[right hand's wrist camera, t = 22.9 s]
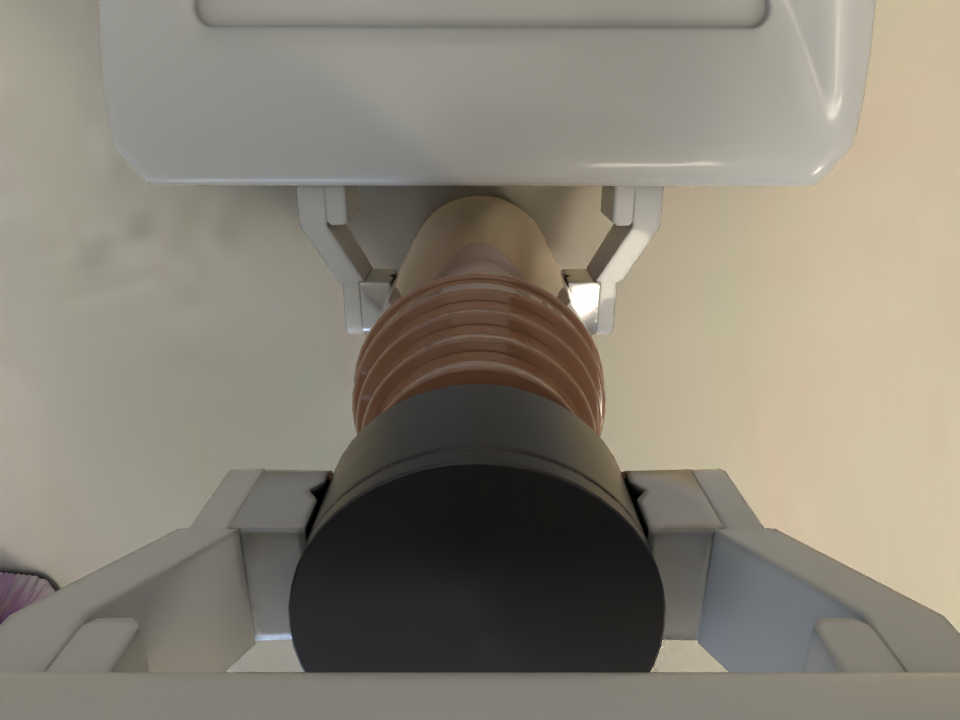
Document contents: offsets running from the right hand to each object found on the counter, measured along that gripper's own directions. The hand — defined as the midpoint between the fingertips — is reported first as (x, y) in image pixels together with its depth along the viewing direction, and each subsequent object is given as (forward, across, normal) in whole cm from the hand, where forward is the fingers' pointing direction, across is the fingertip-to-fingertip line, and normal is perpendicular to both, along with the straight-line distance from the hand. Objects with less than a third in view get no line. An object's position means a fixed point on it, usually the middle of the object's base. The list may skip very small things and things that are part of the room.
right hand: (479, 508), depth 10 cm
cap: (-2, 0, 0) cm, 2 cm away
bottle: (+17, 0, 0) cm, 17 cm away
